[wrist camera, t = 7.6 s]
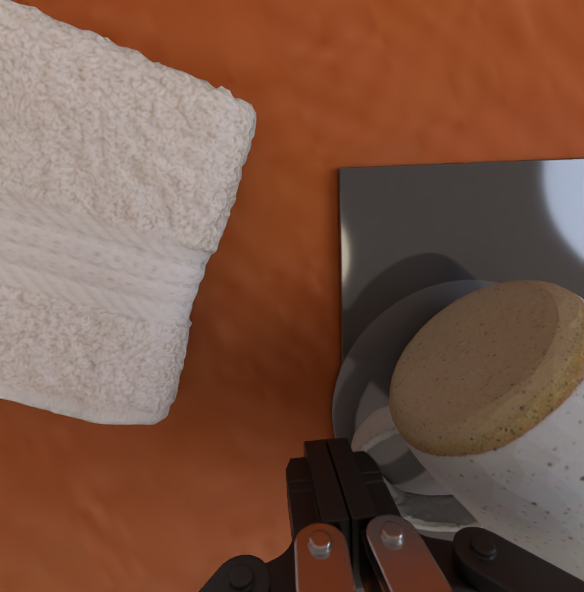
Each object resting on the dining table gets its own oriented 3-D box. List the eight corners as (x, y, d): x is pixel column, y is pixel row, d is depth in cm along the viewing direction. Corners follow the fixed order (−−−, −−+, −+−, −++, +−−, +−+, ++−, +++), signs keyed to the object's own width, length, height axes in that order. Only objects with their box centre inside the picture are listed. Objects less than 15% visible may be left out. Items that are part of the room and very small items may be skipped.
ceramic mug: (482, 248, 15) (691, 295, 8) (594, 374, 17) (848, 507, 10) (296, 429, 17) (329, 615, 9) (420, 529, 19) (529, 750, 11)
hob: (335, 594, 19) (336, 600, 19) (324, 169, 14) (326, 168, 14) (718, 542, 21) (724, 546, 21) (818, 149, 16) (829, 148, 16)
